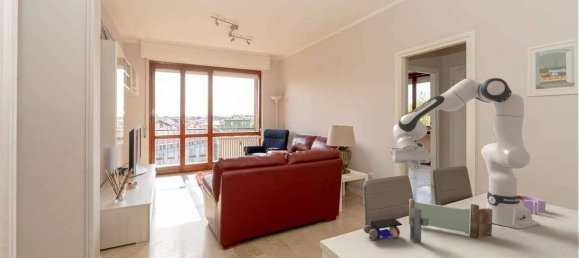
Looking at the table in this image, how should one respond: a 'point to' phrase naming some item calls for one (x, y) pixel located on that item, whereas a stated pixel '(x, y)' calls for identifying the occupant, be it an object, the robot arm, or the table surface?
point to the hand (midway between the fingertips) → (416, 168)
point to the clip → (533, 204)
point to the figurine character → (385, 233)
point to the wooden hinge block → (480, 222)
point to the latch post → (416, 224)
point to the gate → (443, 216)
